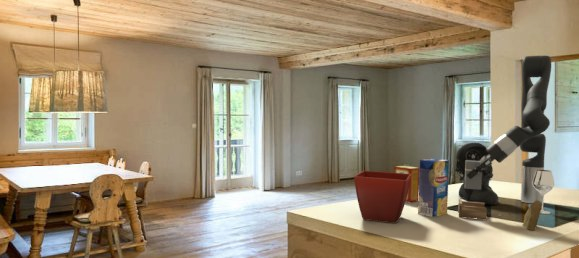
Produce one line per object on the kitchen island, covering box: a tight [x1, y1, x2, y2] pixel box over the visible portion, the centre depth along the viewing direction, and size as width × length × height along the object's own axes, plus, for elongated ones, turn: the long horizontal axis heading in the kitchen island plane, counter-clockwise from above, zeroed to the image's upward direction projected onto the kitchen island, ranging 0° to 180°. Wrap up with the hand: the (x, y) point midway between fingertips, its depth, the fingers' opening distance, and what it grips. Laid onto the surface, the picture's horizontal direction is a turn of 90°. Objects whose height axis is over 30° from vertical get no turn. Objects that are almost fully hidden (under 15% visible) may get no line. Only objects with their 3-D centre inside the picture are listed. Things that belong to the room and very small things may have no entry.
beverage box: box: [417, 158, 450, 218], centre depth 181 cm, size 7×11×22 cm, turn 132°
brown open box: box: [457, 198, 488, 220], centre depth 180 cm, size 12×10×6 cm
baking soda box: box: [393, 165, 420, 203], centre depth 211 cm, size 10×6×16 cm
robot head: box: [454, 142, 499, 206], centre depth 217 cm, size 30×17×29 cm, turn 179°
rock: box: [522, 200, 542, 231], centre depth 163 cm, size 11×9×10 cm
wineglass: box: [532, 169, 555, 215], centre depth 190 cm, size 8×8×18 cm
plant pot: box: [353, 170, 411, 224], centre depth 171 cm, size 19×19×17 cm
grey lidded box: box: [465, 160, 482, 190], centre depth 180 cm, size 5×6×11 cm
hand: (468, 176), depth 181 cm, fingers closed on grey lidded box, 5 cm apart
